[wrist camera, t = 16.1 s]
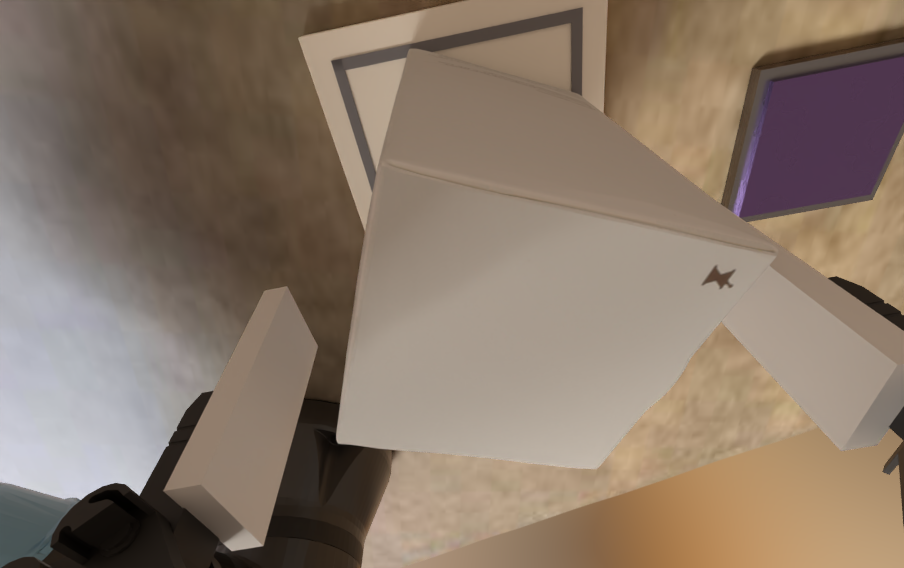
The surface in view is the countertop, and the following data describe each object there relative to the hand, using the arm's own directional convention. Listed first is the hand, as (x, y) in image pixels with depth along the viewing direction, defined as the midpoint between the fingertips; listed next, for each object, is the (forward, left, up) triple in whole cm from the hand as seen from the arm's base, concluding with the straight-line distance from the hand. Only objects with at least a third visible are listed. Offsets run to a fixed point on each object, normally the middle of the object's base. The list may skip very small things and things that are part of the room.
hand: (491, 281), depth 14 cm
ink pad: (+20, -3, -12) cm, 23 cm away
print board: (0, 0, -12) cm, 12 cm away
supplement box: (0, 0, -11) cm, 11 cm away
